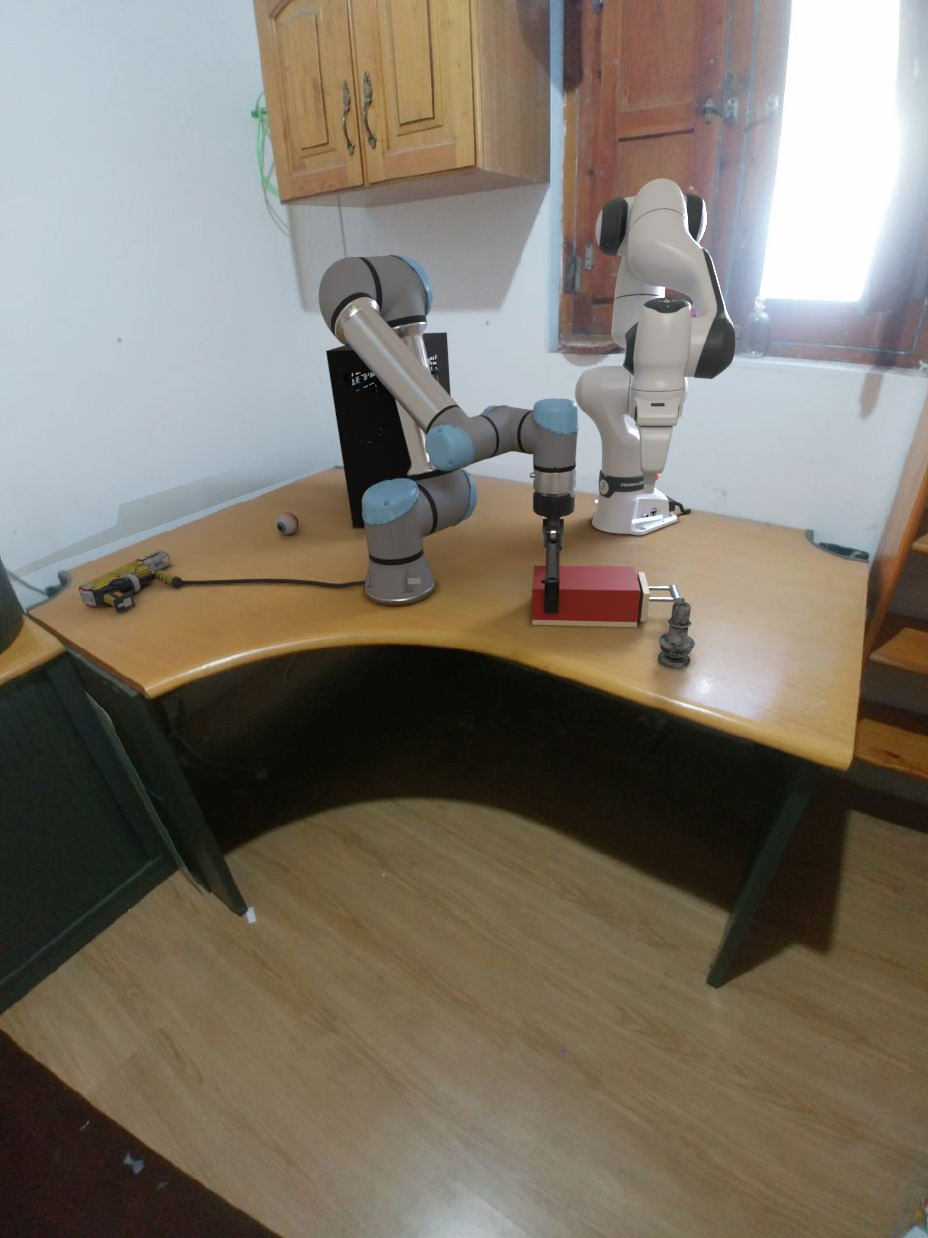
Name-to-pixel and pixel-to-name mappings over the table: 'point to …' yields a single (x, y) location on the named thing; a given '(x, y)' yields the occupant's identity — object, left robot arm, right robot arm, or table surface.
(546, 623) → the cabinet
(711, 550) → the table surface
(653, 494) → the right robot arm
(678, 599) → the drawer
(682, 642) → the chess piece
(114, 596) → the toy gun
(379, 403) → the cardboard box
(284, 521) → the eyeball
